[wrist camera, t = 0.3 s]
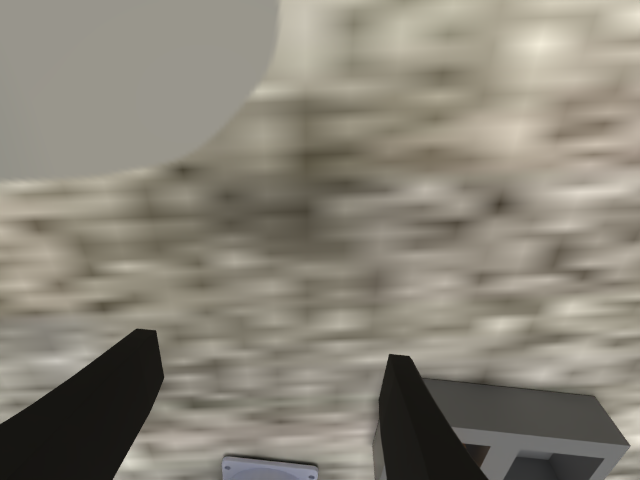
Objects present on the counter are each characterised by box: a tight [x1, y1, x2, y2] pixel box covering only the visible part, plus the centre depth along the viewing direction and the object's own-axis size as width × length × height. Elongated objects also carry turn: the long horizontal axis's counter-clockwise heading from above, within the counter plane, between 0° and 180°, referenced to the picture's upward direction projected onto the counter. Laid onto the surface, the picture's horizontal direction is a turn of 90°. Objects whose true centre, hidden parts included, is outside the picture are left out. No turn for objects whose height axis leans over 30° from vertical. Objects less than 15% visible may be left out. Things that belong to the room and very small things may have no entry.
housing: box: [372, 378, 630, 480], centre depth 24 cm, size 8×14×6 cm, turn 85°
